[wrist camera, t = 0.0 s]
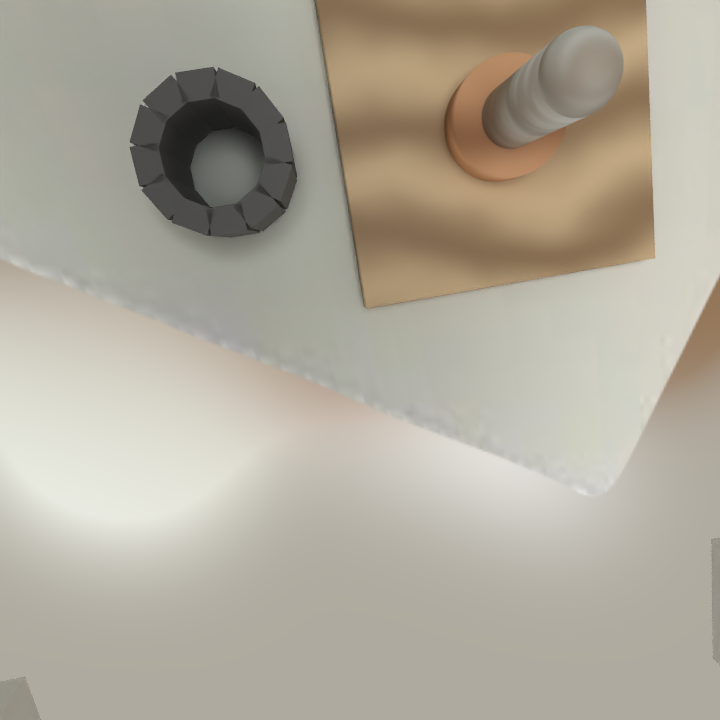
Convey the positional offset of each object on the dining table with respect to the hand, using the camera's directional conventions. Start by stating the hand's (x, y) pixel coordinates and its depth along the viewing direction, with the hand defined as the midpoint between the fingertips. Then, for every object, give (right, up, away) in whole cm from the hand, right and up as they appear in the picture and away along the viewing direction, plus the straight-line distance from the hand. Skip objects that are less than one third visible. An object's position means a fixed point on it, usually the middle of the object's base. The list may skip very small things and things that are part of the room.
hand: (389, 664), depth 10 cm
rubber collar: (-9, +18, +24) cm, 31 cm away
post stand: (+8, +21, +25) cm, 33 cm away
